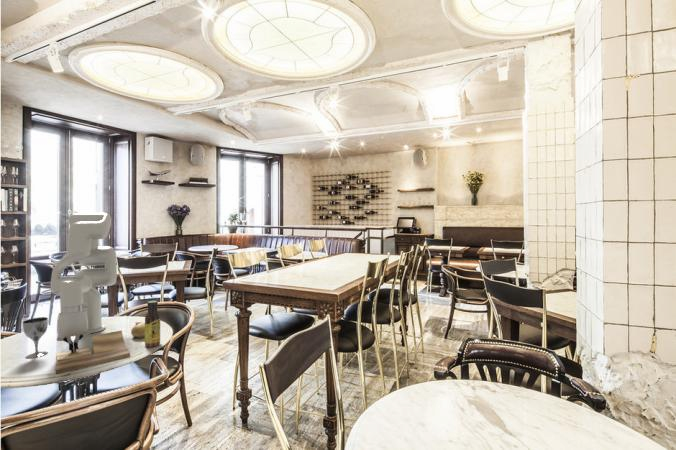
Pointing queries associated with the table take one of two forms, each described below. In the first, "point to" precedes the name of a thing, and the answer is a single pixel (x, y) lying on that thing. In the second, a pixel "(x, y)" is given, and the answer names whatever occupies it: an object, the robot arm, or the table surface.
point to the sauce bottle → (152, 325)
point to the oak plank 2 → (107, 341)
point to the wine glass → (35, 333)
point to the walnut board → (91, 359)
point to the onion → (138, 330)
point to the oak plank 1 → (73, 354)
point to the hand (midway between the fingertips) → (73, 351)
